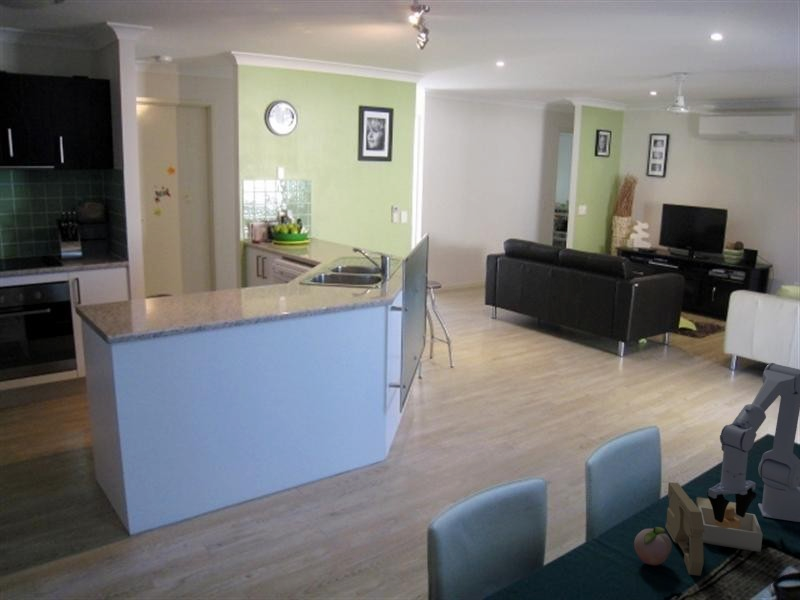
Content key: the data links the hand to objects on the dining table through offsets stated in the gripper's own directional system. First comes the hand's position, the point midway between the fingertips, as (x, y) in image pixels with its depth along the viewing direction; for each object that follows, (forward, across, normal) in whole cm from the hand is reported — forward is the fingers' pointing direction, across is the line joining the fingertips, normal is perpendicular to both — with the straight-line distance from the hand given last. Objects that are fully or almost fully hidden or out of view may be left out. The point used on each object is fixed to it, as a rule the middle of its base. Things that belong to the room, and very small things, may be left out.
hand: (729, 518), depth 175 cm
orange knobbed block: (+5, 0, 0) cm, 5 cm away
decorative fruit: (+6, -29, -3) cm, 30 cm away
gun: (+6, -16, -1) cm, 17 cm away
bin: (+5, 0, 0) cm, 5 cm away
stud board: (+5, +8, +10) cm, 14 cm away
